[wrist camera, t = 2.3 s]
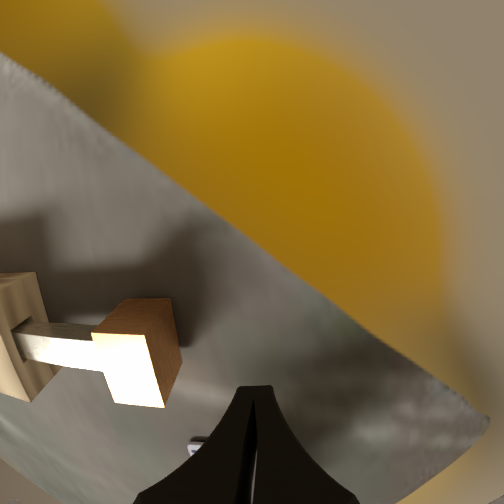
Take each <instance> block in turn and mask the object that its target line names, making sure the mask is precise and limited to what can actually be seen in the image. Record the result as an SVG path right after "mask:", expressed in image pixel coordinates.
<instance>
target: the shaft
mask: <svg viewBox="0 0 504 504" xmlns="http://www.w3.org/2000/svg"><path fill="white" fill-rule="evenodd" d="M10 331H11V334H12V337H13V339H14V342H15V345H16V347H17V350H18V352H19V355H20V357H21V358H25V359H30V360H35V361H40V362H46V363H51V364H57V365H63V366H70V367H77V368H84V369H91V370H100V371H104V374H105V377H106V379H107V382H108V385H109V387H110V390H111V393H112V395H113V398H114V400H115V402H119V403H126V404H134V405H143V406H153V407H165V405H166V402H167V400H168V397H169V395H170V392H171V390H172V387H173V385H174V382H175V380H176V377H177V375H178V372H179V370H180V367H181V365H182V357H181V352H180V347H179V342H178V337H177V332H176V327H175V322H174V316H173V311H172V305H171V299H170V298H147V299H124V300H123V301H122V302H121V303H120V304H119V305H118V306H117V307H116V308H115V309H114V310H113V311H112V312H111V313H110V314H109V315H108V316H107V317H106V318H105V319H104V320H103V321H102V322H101V323H100V324H99V325H84V324H68V323H54V322H41V321H30V320H24V321H22V322H21V323H20V324H18V325H17V326H16V327H14V328H13V329H12V330H10Z"/></svg>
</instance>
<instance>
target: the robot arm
mask: <svg viewBox="0 0 504 504" xmlns="http://www.w3.org/2000/svg"><path fill="white" fill-rule="evenodd" d="M187 447H188V450H189V453H190V456H191V457H190V458H189V459H188V460H187V461H186V462H184V463H183V464H182V465H181V466H180V467H179V468H177V469H176V470H175V471H173V472H172V473H171V474H169V475H168V476H167V477H165V478H164V479H162V480H161V481H159V482H158V483H156V484H154V485H153V486H151V487H149V488H148V489H146V490H144V491H142V492H140V493H139V494H138V495H137V497H136V499H135V501H134V503H133V504H360V503H359V501H358V500H357V498H356V496H355V495H354V494H353V493H351V492H350V491H348V490H347V489H346V488H344V487H343V486H342V485H340V484H339V483H338V482H336V481H335V480H334V479H333V478H332V477H330V476H329V475H328V474H327V473H326V472H325V471H324V470H323V469H322V468H321V467H320V466H319V465H318V464H317V463H316V462H315V461H314V460H313V459H312V458H311V457H310V455H309V454H308V453H307V452H306V451H305V449H304V448H303V447H302V446H301V444H300V443H299V441H298V440H297V439H296V437H295V436H294V434H293V432H292V431H291V429H290V428H289V426H288V424H287V422H286V421H285V419H284V417H283V415H282V413H281V411H280V408H279V406H278V403H277V401H276V398H275V395H274V390H273V387H272V386H271V385H266V386H240V387H238V388H237V390H236V393H235V395H234V398H233V400H232V402H231V404H230V405H229V407H228V409H227V411H226V412H225V414H224V416H223V417H222V419H221V421H220V422H219V424H218V425H217V426H216V428H215V429H214V431H213V432H212V433H211V435H210V436H209V437H208V438H207V440H206V441H205V442H189V443H188V446H187ZM7 504H24V503H22V502H20V501H19V500H16V499H15V498H13V497H11V498H10V500H9V501H8V503H7ZM489 504H504V495H503V496H501V497H500V498H498V499H496V500H494V501H492V502H491V503H489Z"/></svg>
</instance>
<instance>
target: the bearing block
mask: <svg viewBox="0 0 504 504" xmlns="http://www.w3.org/2000/svg"><path fill="white" fill-rule="evenodd" d="M24 320H30V321H41V322H49V321H48V318H47V314H46V311H45V307H44V304H43V300H42V297H41V293H40V289H39V285H38V281H37V277H36V272H19V273H0V392H1V393H4V394H7V395H10V396H13V397H15V398H18V399H21V400H25V401H28V402H32V400H33V399H34V398H35V397H36V396H37V395H38V394H39V392H40V391H41V390H42V389H43V388H44V387H45V386H46V384H47V383H48V382H49V381H50V380H51V379H52V378H53V377H54V376H55V374H56V373H57V372H58V371H59V370H60V369H61V368H62V367H63V365H57V364H51V363H46V362H40V361H35V360H30V359H25V358H21V357H20V355H19V352H18V350H17V347H16V345H15V342H14V339H13V337H12V334H11V331H10V330H12V329H13V328H14V327H16V326H17V325H18V324H20V323H21V322H22V321H24Z"/></svg>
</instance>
